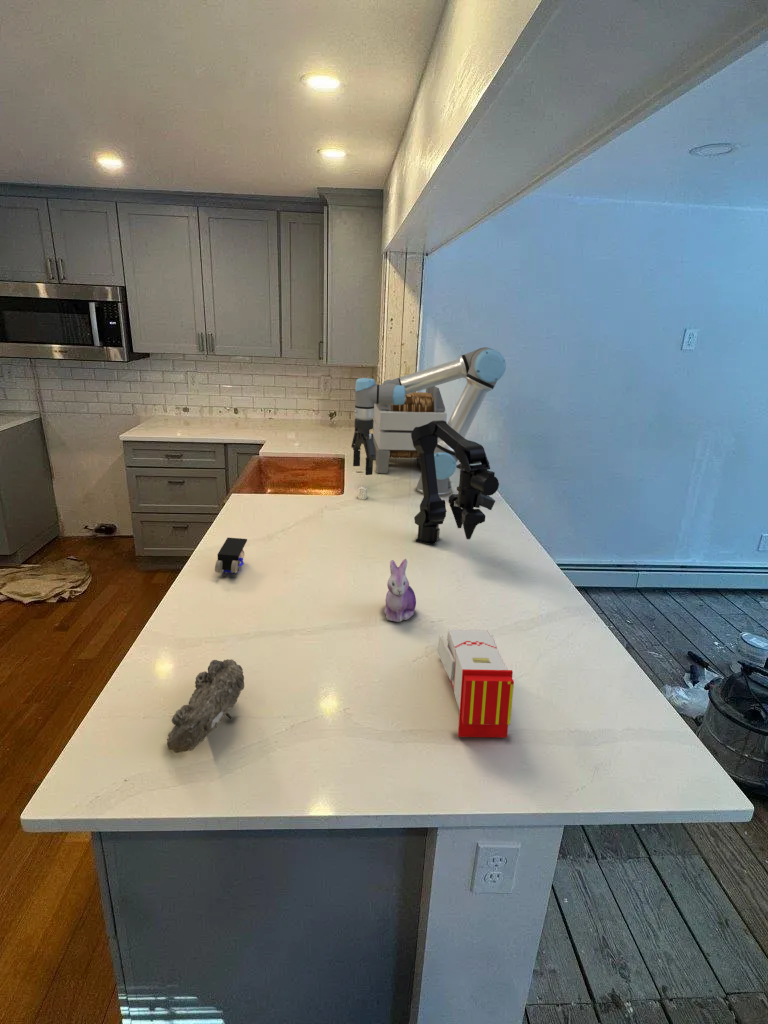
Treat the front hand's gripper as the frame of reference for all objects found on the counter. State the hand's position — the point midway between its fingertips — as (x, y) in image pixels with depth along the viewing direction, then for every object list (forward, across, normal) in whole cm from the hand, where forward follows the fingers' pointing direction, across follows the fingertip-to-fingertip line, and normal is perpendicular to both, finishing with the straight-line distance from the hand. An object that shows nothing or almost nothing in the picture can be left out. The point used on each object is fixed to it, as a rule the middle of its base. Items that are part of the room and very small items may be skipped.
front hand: (463, 533), depth 177 cm
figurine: (+10, -30, +26) cm, 41 cm away
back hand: (-2, +64, +23) cm, 69 cm away
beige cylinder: (+10, +64, +23) cm, 69 cm away
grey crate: (+10, +115, -6) cm, 116 cm away
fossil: (+10, -65, +69) cm, 95 cm away
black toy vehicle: (+10, 0, +70) cm, 71 cm away
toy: (+10, -63, +17) cm, 66 cm away
